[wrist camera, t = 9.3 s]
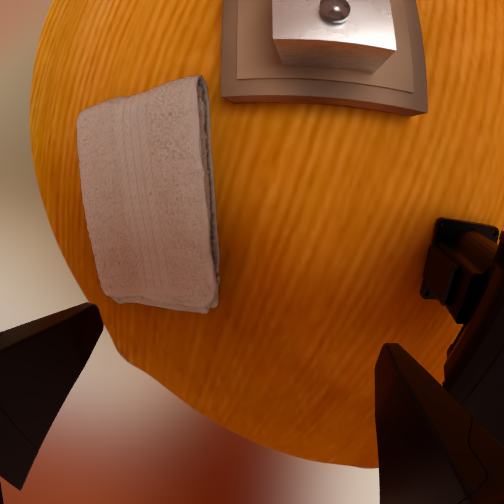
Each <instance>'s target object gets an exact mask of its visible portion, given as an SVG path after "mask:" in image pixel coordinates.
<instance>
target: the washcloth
mask: <svg viewBox="0 0 504 504" xmlns="http://www.w3.org/2000/svg"><path fill="white" fill-rule="evenodd" d="M76 126H77V145H78V148H77V149H78V156H79V160H80V164H79V168H80V178H81V190H82V198H83V205H84V208H85V219H86V221H87V225H88V226H87V230H88V231H89V238H90V240H91V243H92V250H93V254H94V258H95V260H96V261H95V264H96V269H97V273H98V277H99V280H100V282H101V288H102V290H103V291H104V293H105V294H106V296H110V297H111V298H112V299H113V300H114V301H115V302H117V303H119V304H123V303H127V302H130V303H140V304H144V305H151V306H156V307H162V308H168V309H173V310H181V311H191V312H199V313H202V314H206V313H208V312H209V308H214V307H216V306H217V305H218V303H219V301H218V298H219V295H218V291H219V289H218V286H219V282H220V277H219V276H218V273H219V263H220V255H219V242H218V229H217V218H216V203H215V189H214V177H213V164H212V153H211V137H210V108H209V96H208V88H207V84H206V81H205V80H204V78H203V77H202V75H198V76H188V77H186V78H180V79H178V80H173V81H170V82H167V83H165V84H162V85H160V86H158V87H154V88H153V89H151V90H150V91H147V92H143V93H139V94H137V95H133V96H131V97H124V96H120V97H118V98H114V99H112V100H110V99H109V100H108V101H104V102H102V103H100V104H97V105H95V106H93V107H90V108H87V109H85V110H83V111H82V112H81V113H80V114H79V117H78V120H77V123H76Z"/></svg>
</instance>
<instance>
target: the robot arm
mask: <svg viewBox="0 0 504 504" xmlns="http://www.w3.org/2000/svg"><path fill="white" fill-rule="evenodd" d="M443 222H444V226H443V227H441V224H442V223H443ZM494 231H495V232H494ZM493 232H494V234H493ZM498 236H499V230H498V228H496V227H495V226H491V225H485V224H480V223H474V222H468V221H462V220H455V219H449V218H439V219H438V220H437V222H436V226H435V231H434V236H433V241H432V245H431V246H430V247H429V252H428V256H427V260H426V264H425V268H424V272H423V278H424V279H423V283H422V286H421V290H420V294H421V296H422V298H424V299H438V300H439V301H440V303H441V305H443V306H446V308H447V309H448V311H449V312H450V314H451V315H452V317H453V319H454V320H455V322H456V323H457V324H463V327H462V329H461V330H460V332H459V334H458V336H457V337H456V339H455V341H454V343H453V344H451V345H450V347H449V348H448V350H447V360H446V362H445V365H444V377H445V380H444V382H443V383H442V385H443V386H442V385H441V384H440V383H438V382H437V381H436V380H435V379H434V378H433V377H432V376H431V375H430V374H429V373H428V372H427V371H426V370H425V369H424V368H423V367H422V366H421V365H420V364H419V363H418V362H417V361H416V360H415V359H414V358H413V357H412V356H411V355H410V354H409V353H408V352H407V351H405V350H404V349H403V348H402V347H401V346H400V345H399V344H397V343H385V344H384V345H383V346H382V349H381V351H380V354H379V357H378V360H377V362H376V365H375V422H376V433H377V445H378V460H379V482H380V504H504V231H501V234H500V237H499V239H500V242H499V245H498V244H497V240H498ZM426 291H428V292H427V293H426V294H424V293H425V292H426ZM103 327H104V326H103V321H102V318H101V315H100V312H99V308H98V307H97V305H95V304H92V303H88V302H86V303H83V304H80V305H78V306H74V307H72V308H69V309H66V310H63V311H60V312H57V313H54V314H51V315H48V316H46V317H43V318H40V319H37V320H34V321H31V322H28V323H25V324H23V325H20V326H17V327H14V328H11V329H8V330H6V331H3V332H0V476H1V477H2V478H3V479H5V480H6V481H7V482H9V483H10V484H12V485H13V486H14V487H16V488H17V489H18V490H21V489H22V487H23V485H24V483H25V480H26V478H27V476H28V473H29V471H30V469H31V467H32V464H33V462H34V460H35V458H36V456H37V454H38V452H39V449H40V447H41V445H42V443H43V441H44V438H45V437H46V435H47V433H48V431H49V429H50V427H51V425H52V423H53V421H54V419H55V417H56V416H57V414H58V412H59V410H60V408H61V406H62V405H63V403H64V401H65V399H66V397H67V396H68V394H69V392H70V390H71V388H72V387H73V385H74V383H75V382H76V380H77V378H78V377H79V375H80V373H81V371H82V370H83V368H84V367H85V364H86V363H87V361H88V359H89V357H90V355H91V353H92V351H93V349H94V347H95V345H96V343H97V341H98V339H99V337H100V335H101V333H102V331H103ZM0 504H4V503H3V497H2V491H1V483H0Z"/></svg>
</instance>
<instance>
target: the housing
mask: <svg viewBox="0 0 504 504" xmlns="http://www.w3.org/2000/svg"><path fill="white" fill-rule="evenodd" d="M272 17H273V41H274V43H275V46H276V48H277V51H278V54H279V56H280V59H281V62H282V65H283V66H284V67H316V68H330V69H341V70H350V71H358V72H366V73H372V74H374V73H375V72H376V71H377V70H378V69H379V68H380V67H381V66H382V65H383V64H384V63H385V62H386V61H387V59H388V58H389V57H390V56H391V55H392V54H393V53H394V52H395V51H396V41H395V32H394V25H393V18H392V12H391V6H390V0H272Z"/></svg>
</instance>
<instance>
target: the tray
mask: <svg viewBox="0 0 504 504" xmlns="http://www.w3.org/2000/svg"><path fill="white" fill-rule="evenodd" d="M390 6H391V12H392V18H393V25H394V32H395V41H396V51H395V52H394V53H393V54H392V55H391V56H390V57H389V58H388V59H387V61H386V62H385V63H384V64H383V65H382V66H381V67H380V68H379V69H378V70H377V71H376V72H375V73H374V74H372V73H366V72H358V71H350V70H341V69H330V68H316V67H284V66H283V65H282V62H281V59H280V56H279V54H278V51H277V48H276V46H275V43H274V41H273V17H272V0H223V15H222V49H221V97H222V98H224V99H226V100H228V101H230V102H233V103H260V102H279V103H309V104H325V105H337V106H347V107H356V108H364V109H371V110H378V111H384V112H390V113H396V114H401V115H406V116H415V115H420V114H425V113H428V104H427V79H426V66H425V56H424V47H423V39H422V32H421V26H420V20H419V15H418V10H417V5H416V0H390Z"/></svg>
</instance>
